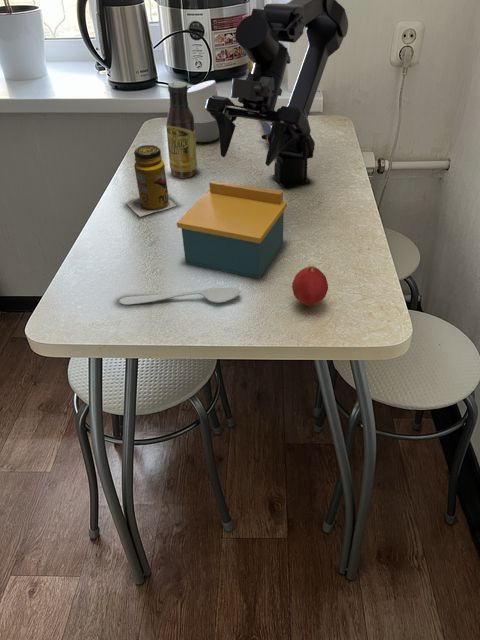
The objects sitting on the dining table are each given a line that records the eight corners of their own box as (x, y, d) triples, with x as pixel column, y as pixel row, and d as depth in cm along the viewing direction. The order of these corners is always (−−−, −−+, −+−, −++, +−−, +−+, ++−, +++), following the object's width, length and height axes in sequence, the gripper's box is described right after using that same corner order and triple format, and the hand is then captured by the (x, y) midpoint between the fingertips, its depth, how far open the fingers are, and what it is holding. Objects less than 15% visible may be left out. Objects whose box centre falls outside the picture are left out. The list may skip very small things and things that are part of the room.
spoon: (241, 305, 97) (241, 297, 96) (117, 309, 96) (115, 301, 95) (241, 290, 100) (240, 282, 99) (121, 294, 100) (119, 286, 98)
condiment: (176, 206, 123) (169, 151, 115) (139, 217, 120) (130, 161, 112) (161, 193, 128) (154, 139, 120) (125, 203, 124) (115, 149, 116)
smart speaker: (196, 129, 155) (191, 74, 145) (228, 134, 152) (225, 77, 143) (180, 143, 148) (173, 85, 139) (212, 147, 146) (208, 89, 136)
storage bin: (214, 230, 115) (211, 195, 110) (283, 243, 111) (283, 207, 106) (185, 263, 107) (181, 226, 101) (259, 278, 102) (258, 241, 97)
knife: (271, 126, 160) (254, 123, 160) (273, 116, 159) (255, 113, 158) (286, 158, 141) (265, 156, 140) (288, 147, 139) (267, 145, 138)
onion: (289, 295, 99) (290, 255, 93) (323, 293, 99) (326, 253, 94) (294, 316, 94) (295, 275, 89) (329, 314, 95) (332, 273, 89)
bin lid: (210, 193, 111) (208, 178, 109) (287, 206, 106) (287, 191, 104) (177, 227, 101) (175, 212, 99) (260, 243, 97) (260, 227, 95)
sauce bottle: (166, 176, 134) (154, 86, 120) (178, 166, 138) (168, 77, 125) (191, 181, 132) (182, 90, 119) (203, 170, 136) (195, 80, 123)
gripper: (203, 48, 101) (180, 137, 103) (302, 61, 95) (276, 154, 97) (228, 78, 112) (207, 157, 113) (318, 90, 106) (295, 174, 107)
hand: (244, 160), depth 107 cm, fingers open, 9 cm apart
